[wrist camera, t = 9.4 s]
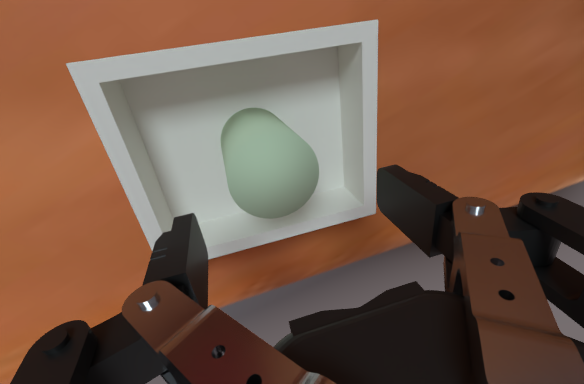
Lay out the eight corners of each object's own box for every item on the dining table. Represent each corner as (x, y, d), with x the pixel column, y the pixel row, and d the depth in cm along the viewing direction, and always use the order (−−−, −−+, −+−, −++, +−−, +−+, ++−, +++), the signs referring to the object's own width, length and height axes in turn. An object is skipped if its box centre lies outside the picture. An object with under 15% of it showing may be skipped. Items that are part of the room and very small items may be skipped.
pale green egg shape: (281, 101, 20) (314, 122, 14) (290, 164, 22) (323, 205, 16) (212, 115, 19) (215, 143, 13) (229, 178, 21) (239, 228, 15)
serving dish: (346, 25, 19) (378, 19, 16) (352, 191, 26) (375, 213, 22) (95, 61, 17) (65, 63, 13) (168, 238, 23) (162, 272, 19)
